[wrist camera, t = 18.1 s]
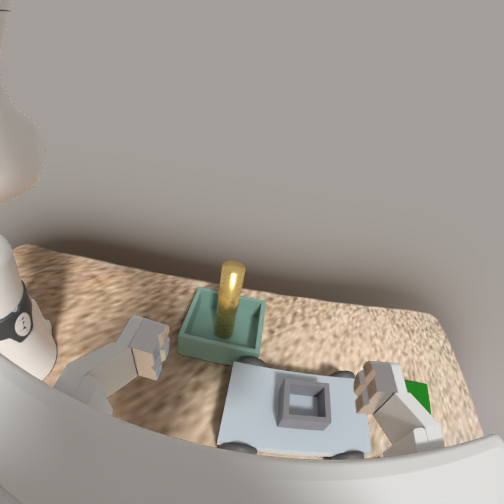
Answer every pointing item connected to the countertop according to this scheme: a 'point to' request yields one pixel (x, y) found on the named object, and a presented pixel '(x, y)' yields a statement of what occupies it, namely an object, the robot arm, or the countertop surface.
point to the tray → (212, 347)
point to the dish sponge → (419, 393)
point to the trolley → (292, 413)
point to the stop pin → (228, 298)
